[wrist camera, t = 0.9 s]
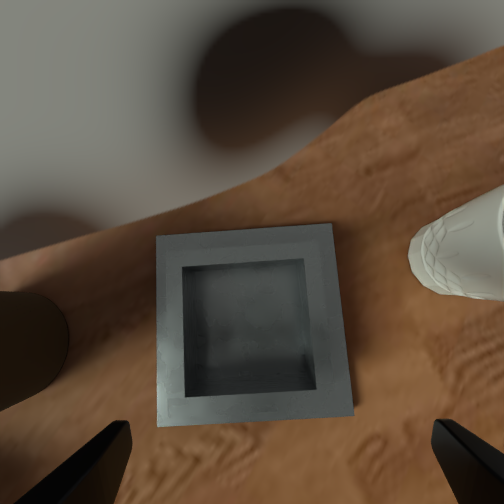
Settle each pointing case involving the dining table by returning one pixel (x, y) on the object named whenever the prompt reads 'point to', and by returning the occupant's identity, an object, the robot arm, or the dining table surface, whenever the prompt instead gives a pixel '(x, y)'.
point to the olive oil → (29, 345)
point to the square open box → (250, 327)
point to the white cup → (463, 250)
